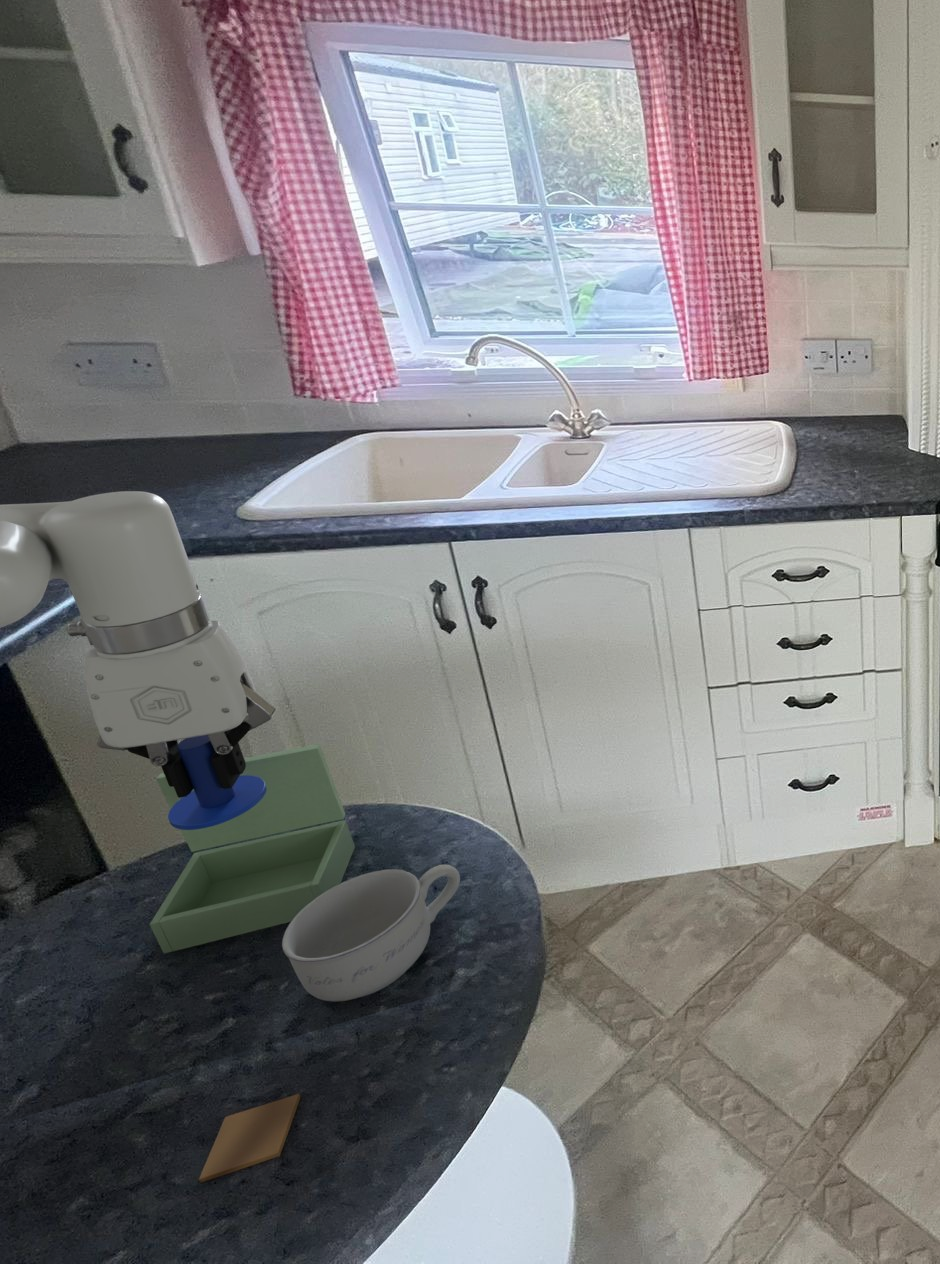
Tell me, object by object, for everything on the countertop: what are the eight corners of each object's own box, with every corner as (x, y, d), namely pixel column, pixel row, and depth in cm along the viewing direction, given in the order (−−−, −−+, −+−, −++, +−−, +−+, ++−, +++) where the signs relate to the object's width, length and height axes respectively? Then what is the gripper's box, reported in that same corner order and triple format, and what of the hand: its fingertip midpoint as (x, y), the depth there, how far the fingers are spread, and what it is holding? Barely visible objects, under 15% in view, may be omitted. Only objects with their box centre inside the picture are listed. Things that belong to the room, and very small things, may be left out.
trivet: (200, 1183, 65) (198, 1179, 65) (226, 1120, 69) (225, 1116, 69) (280, 1156, 67) (278, 1152, 67) (301, 1096, 71) (299, 1093, 71)
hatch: (317, 748, 90) (319, 743, 90) (155, 778, 84) (159, 773, 85) (343, 819, 94) (345, 814, 94) (191, 852, 89) (194, 846, 89)
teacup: (307, 1042, 75) (282, 981, 72) (302, 960, 83) (278, 902, 80) (483, 957, 84) (466, 899, 81) (463, 890, 92) (448, 834, 89)
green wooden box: (330, 916, 88) (318, 883, 86) (165, 958, 83) (149, 924, 81) (356, 850, 96) (345, 819, 94) (208, 885, 91) (194, 852, 89)
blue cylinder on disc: (155, 838, 78) (127, 773, 76) (188, 789, 85) (164, 727, 82) (251, 818, 81) (227, 755, 79) (277, 772, 87) (256, 712, 85)
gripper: (0, 661, 69) (80, 831, 76) (247, 629, 75) (301, 788, 82) (53, 619, 75) (122, 779, 82) (277, 592, 82) (324, 743, 88)
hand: (211, 782), depth 82 cm, fingers closed on blue cylinder on disc, 2 cm apart
